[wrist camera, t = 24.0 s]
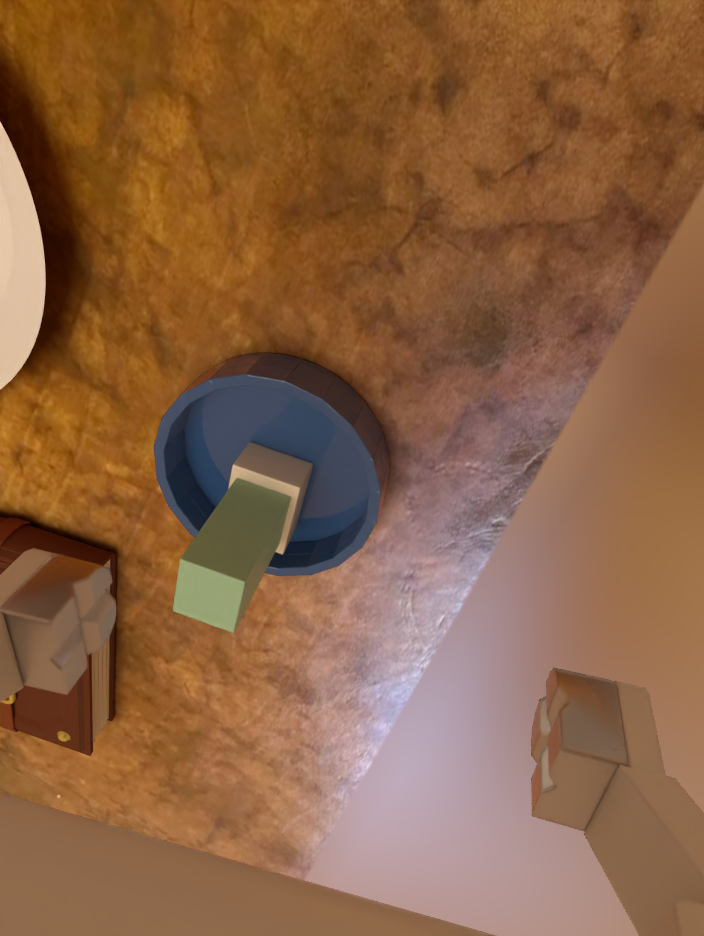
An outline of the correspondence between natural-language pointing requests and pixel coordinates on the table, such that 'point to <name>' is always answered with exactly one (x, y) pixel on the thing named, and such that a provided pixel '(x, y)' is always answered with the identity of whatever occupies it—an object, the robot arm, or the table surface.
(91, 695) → the book
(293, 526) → the green block on base
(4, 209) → the white dinner plate
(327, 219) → the table surface
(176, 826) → the table surface
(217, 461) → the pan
